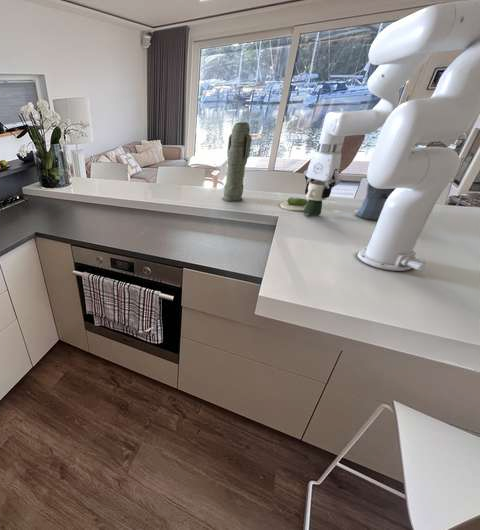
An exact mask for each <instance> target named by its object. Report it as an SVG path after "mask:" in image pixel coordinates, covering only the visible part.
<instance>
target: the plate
mask: <svg viewBox="0 0 480 530" xmlns="http://www.w3.org/2000/svg"><path fill="white" fill-rule="evenodd" d="M305 206H306V205H305ZM305 206H300V205H294V204H289V203H288V202H287V200H285V201H281V202H280V203H279V207H280V208H281V209H284V210H287V211H292V212H303V211H304V209H305Z"/></svg>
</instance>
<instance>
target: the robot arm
mask: <svg viewBox="0 0 480 530" xmlns="http://www.w3.org/2000/svg"><path fill="white" fill-rule="evenodd" d="M458 50H459V51H463V52H462V53H460V54H459V55H458V56H457V57H456V58H455V59H453V61H451V63H450V64H449V65H448V66H447V67H446V69H445V70H444V71H443V72H442V73H441V75H440V78H439V79H438V82H437V84H436V87H435V89H434V91H433V93H432V95H431V96H430V97H423V98H422V97H421V98H414V99H409V100H407V101H405V102H403V103H401V104H399V101H400V90H401V88H402V87H403V86H404V85H405V84H406V83H407V82H408V81H409V80H410V79H411V78H412V77H413V76H414V74H416V73H417V71H418V70H419V69H420V68H421V67H422V66H423V65H424V64H425V63H426V62H427V61H428V60H429V59H430V57H431V56H432V55H433V54H434V53H440V52H450V51H458ZM367 56H368V57H367V58H368V61H369V63H370V64H371V65H373V66H377V67H376V69H375V70H374V71H373V72H372V74H371V75H370V76H369V78H368V79H367V81H366V86H367V90H368V91H369V92H370V93H371V94H372V95H374V96H375V97H377V98H380V100H379V101H378V102H377V104H376V105H375V106H374V107H373V108H371V109H361V110H352V111H348V110H337V111H336V110H335V111H334V110H333V111H330V112H328V113H326V115H325V117H324V120H323V125H322V129H321V131H320V136H319V140H318V143H317V144H316V146H315V147H316V148H317V149H316V150H315V151H314V152H313V154H312V156H311V159H310V161H309V164H308V166H307V169H305V170H304V171H303V176H304V179H305V183H306V187H305V191H304V194H307V192H308V186H309V183H310V182H311V181H325V185H326V188H324V190H323V194H322V198H326V199H327V198H328V199H329V198H330V196H331V193H332V190H333V188H335V186H337V185H338V184H339V183H341V182H342V181H343V177H342V176H341V174H340V173H339V172H340V168H341V162H342V152H341V151H342V148H343V144H344V141H345V138H346V137H350V136H363V135H370V134H372V133H374V132H376V131H377V130H379V129H380V128H381V127H382V128H381V130H380V133H379V135H378V138H377V141H376V144H375V147H374V149H373V152H372V155H371V158H370V159H369V160H370V161H369V163H368V166H367V171H366V179H367V183H368V182H369V184H370V185H371V186H372V187H375V188H379V189H393V188H396V189H395V190H394V191H393V192H392V193H391V194H390V195H389V197H388V198H387V200H386V202H385V204H384V207H383V209H382V212H381V214H380V217H379V219H378V220H377V222H376V224H375V227H374V230H373V232H372V235H371V237H370V240H369V243H368V245H367V247H366V248H361V249H360V250H359V251H358V253H357V257H358V259H359V260H360V261H362V263H365V264H366V265H369V266H371V267H374V268H377V269H381V270H387V271H395V272H401V271H402V272H403V271H408V270H411V269H414V270H417V271H422V270H423V269H424V268H425V264H426V261H425V260H423V259H420V258H417V257H416V255H417V251H414V249H415V247H416V244H417V242H418V240H419V239H420V236H421V234H422V232H423V230H424V228H425V226H426V224H427V222H428V219H429V217H430V215H431V213H432V211H433V209H434V207H435V205H436V204H437V202H438V199H439V198H440V196H441V195H442V193H443V191H445V189H446V188H447V186H449V184H450V182H451V181H452V180H453V179H454V178H455V176H456V175H457V172H458V171H459V169H460V165H461V157H460V155H459V154H458V153H457V151H456V150H454V149H452V148H449V147H445V146H424V147H423V146H421V147H415V146H416V144H423V143H437V142H438V143H439V142H447V141H451V140H455V139H457V138H460V137H461V136H463V135H464V134H466V133H467V131H469V129H470V128H471V126H472V125H473V123H474V121H475V120H476V118H477V116H478V114H479V113H480V0H459V1H449V2H441V3H437V4H432V5H429V6H426V7H425V8H422V9H420V10H418V11H415V12H413V13H412V14H409V15H407V16H404V17H403V18H400V19H398V20H397V21H394V22H392V23H391V24H389V25H388V26H386V27H385V28H384V29H383V30H381V31H380V33H378V35H376V37H375V39H374V40H373V42H372V43H371V45H370V48H369V50H368V55H367ZM398 104H399V105H398ZM329 183H330V184H329Z"/></svg>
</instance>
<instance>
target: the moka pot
mask: <svg viewBox="0 0 480 530" xmlns="http://www.w3.org/2000/svg"><path fill="white" fill-rule="evenodd" d="M366 185H367V186H366V193H365V197H364V199H363V201H362V203H361V206H360V207H359V209H358V211H357V213H356V216H357V217H360V218H363V219H366V220H367V219H368V220H377V221H378V219H379V217H380V214H381V212H382V209H383V207H384V204H385V202H386V200H387V198H388V197H389V195H390V194H391V193H392V192H393V191H394V190H395V189H396V188H393V189H379V188H375V187H372V186H371V185H370V184H369V182H368V181H367V184H366Z"/></svg>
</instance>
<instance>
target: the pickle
mask: <svg viewBox="0 0 480 530" xmlns="http://www.w3.org/2000/svg"><path fill="white" fill-rule="evenodd" d="M286 201H287V202H288V203H289V204H294V205H300V206H305V205H306V204H307V202H308V199H307V198H300V197H292V196H291V197H289V198H287V200H286Z"/></svg>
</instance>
